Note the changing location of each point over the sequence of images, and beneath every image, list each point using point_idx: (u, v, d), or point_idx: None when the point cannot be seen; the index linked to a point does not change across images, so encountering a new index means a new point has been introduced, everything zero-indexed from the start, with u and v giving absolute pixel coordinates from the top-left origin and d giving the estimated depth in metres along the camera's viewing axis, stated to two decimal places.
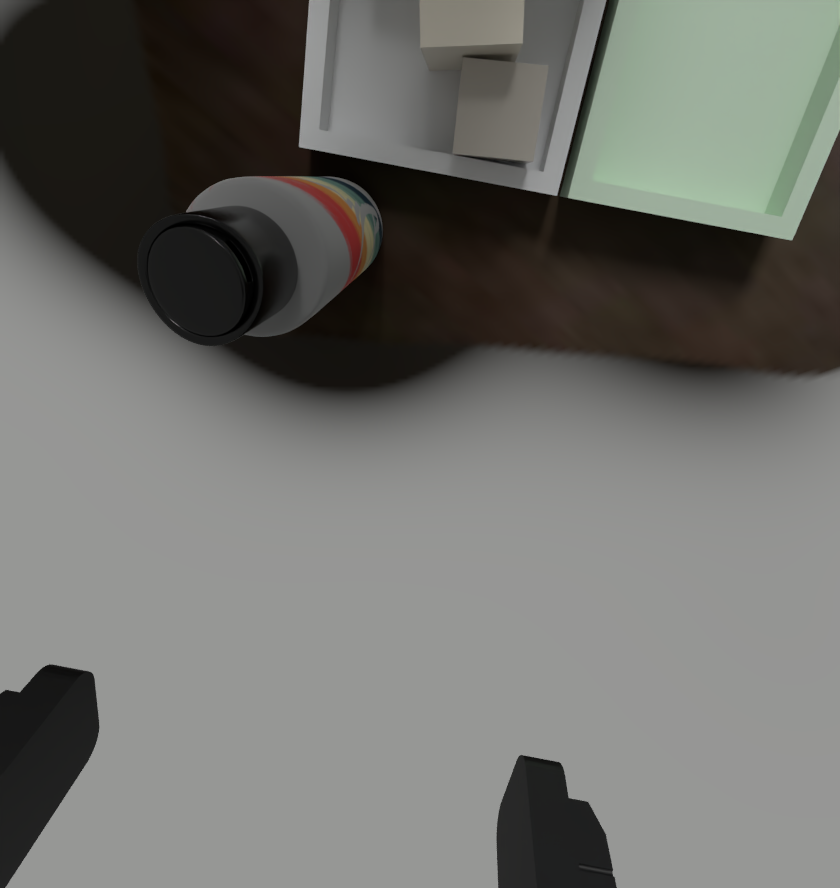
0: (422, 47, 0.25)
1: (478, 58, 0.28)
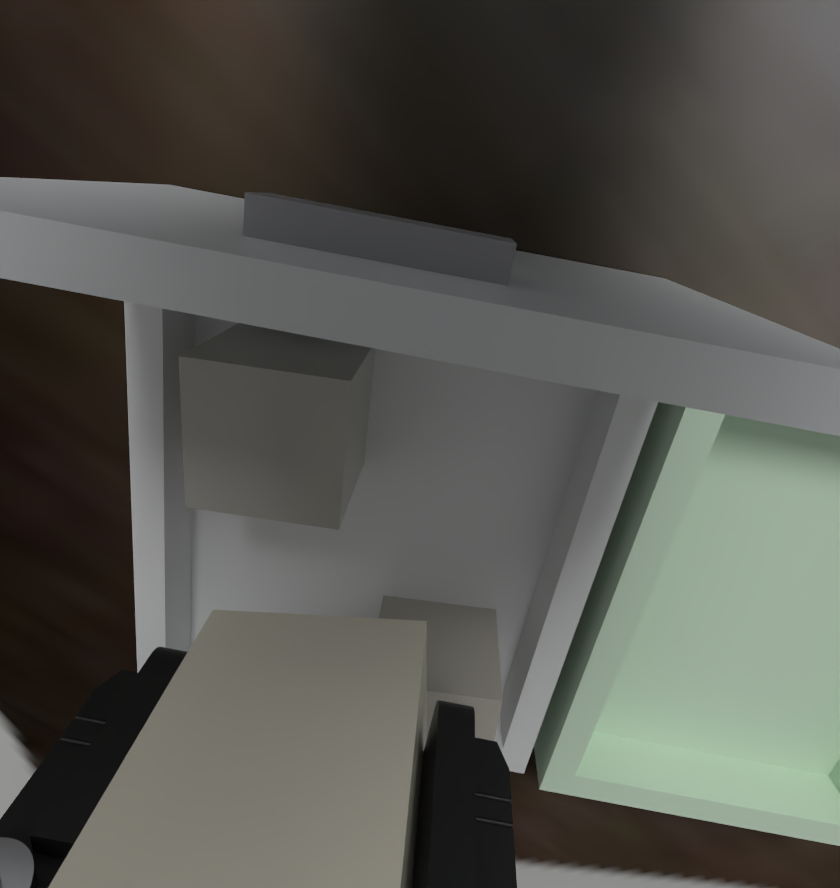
0: None
1: None
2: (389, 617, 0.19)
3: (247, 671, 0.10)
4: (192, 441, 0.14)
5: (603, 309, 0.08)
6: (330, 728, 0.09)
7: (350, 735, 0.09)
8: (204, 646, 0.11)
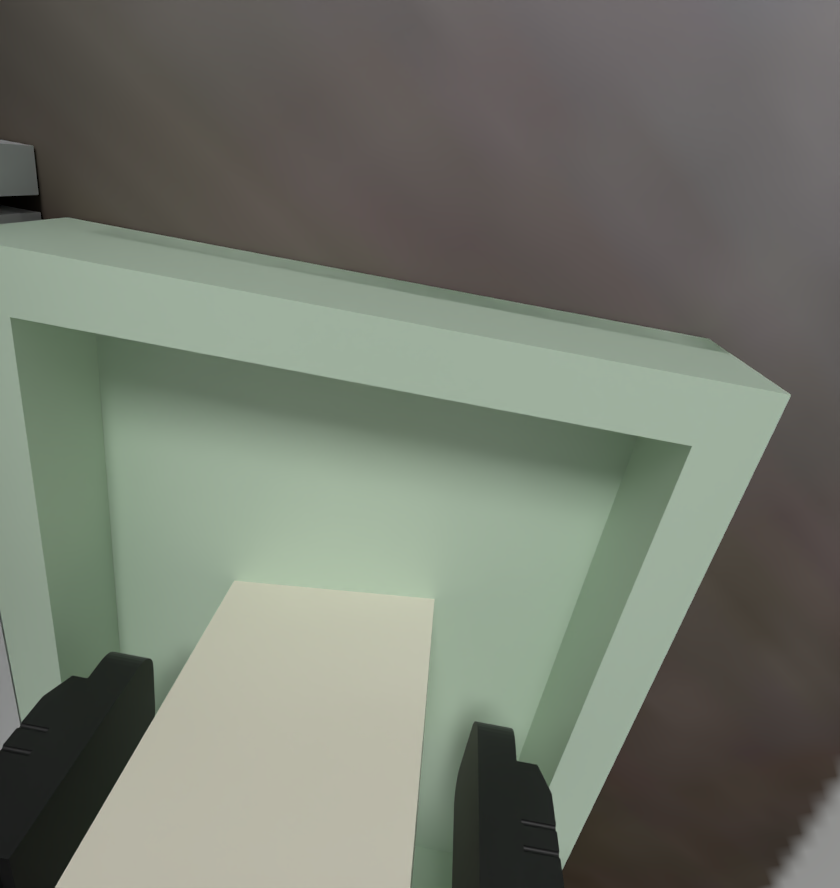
0: None
1: None
2: None
3: (269, 636, 0.11)
4: None
5: None
6: (348, 688, 0.10)
7: (367, 695, 0.10)
8: (228, 613, 0.12)
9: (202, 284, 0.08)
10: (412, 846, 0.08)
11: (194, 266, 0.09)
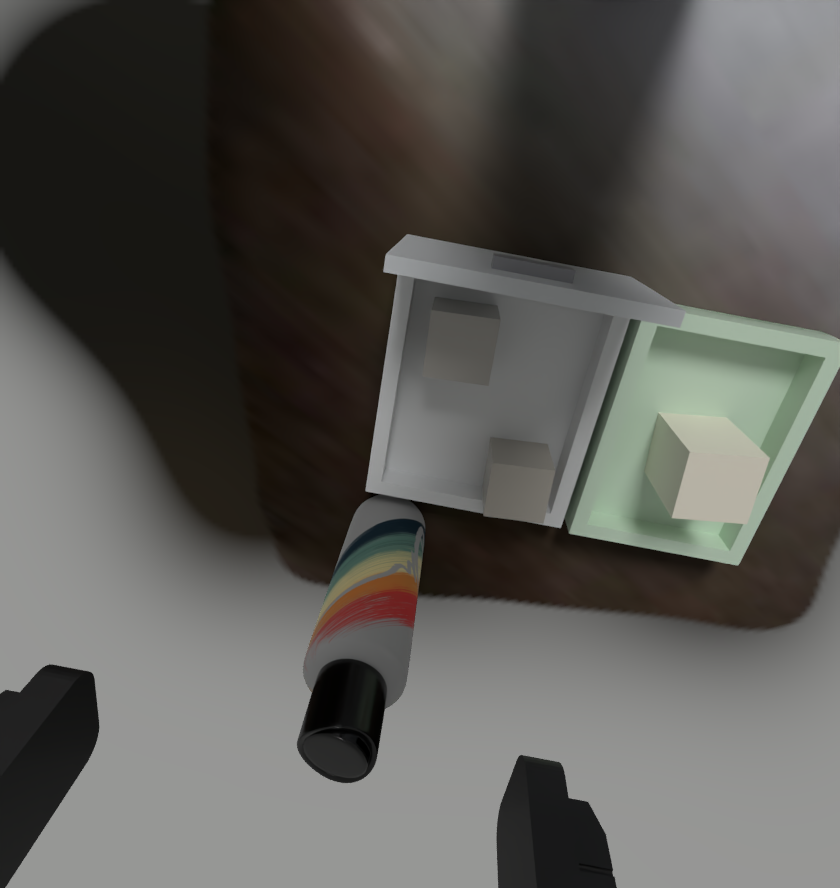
0: (672, 517, 0.34)
1: None
2: (496, 444, 0.39)
3: (685, 423, 0.36)
4: (430, 346, 0.34)
5: (601, 290, 0.27)
6: (720, 431, 0.35)
7: (727, 432, 0.35)
8: (666, 418, 0.37)
9: (712, 318, 0.33)
10: (761, 451, 0.33)
11: (696, 312, 0.34)
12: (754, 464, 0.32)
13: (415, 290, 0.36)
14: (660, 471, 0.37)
